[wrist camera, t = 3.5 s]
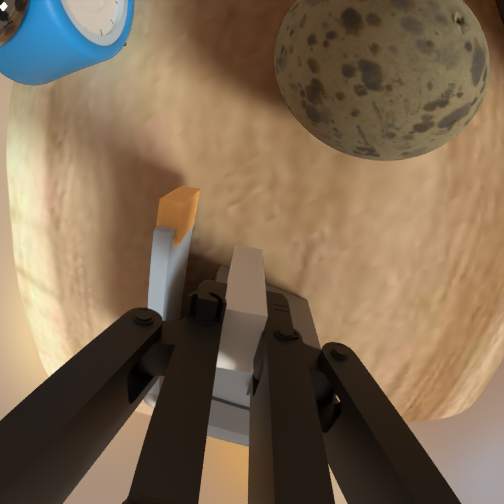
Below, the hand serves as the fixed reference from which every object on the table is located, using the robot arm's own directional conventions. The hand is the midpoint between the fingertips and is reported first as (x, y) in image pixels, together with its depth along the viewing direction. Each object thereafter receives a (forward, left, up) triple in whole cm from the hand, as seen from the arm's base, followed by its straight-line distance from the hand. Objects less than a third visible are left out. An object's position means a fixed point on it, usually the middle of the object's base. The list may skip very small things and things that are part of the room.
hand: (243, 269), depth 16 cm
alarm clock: (-5, -22, -7) cm, 24 cm away
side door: (+7, -1, -7) cm, 10 cm away
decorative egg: (-13, -3, -7) cm, 15 cm away
